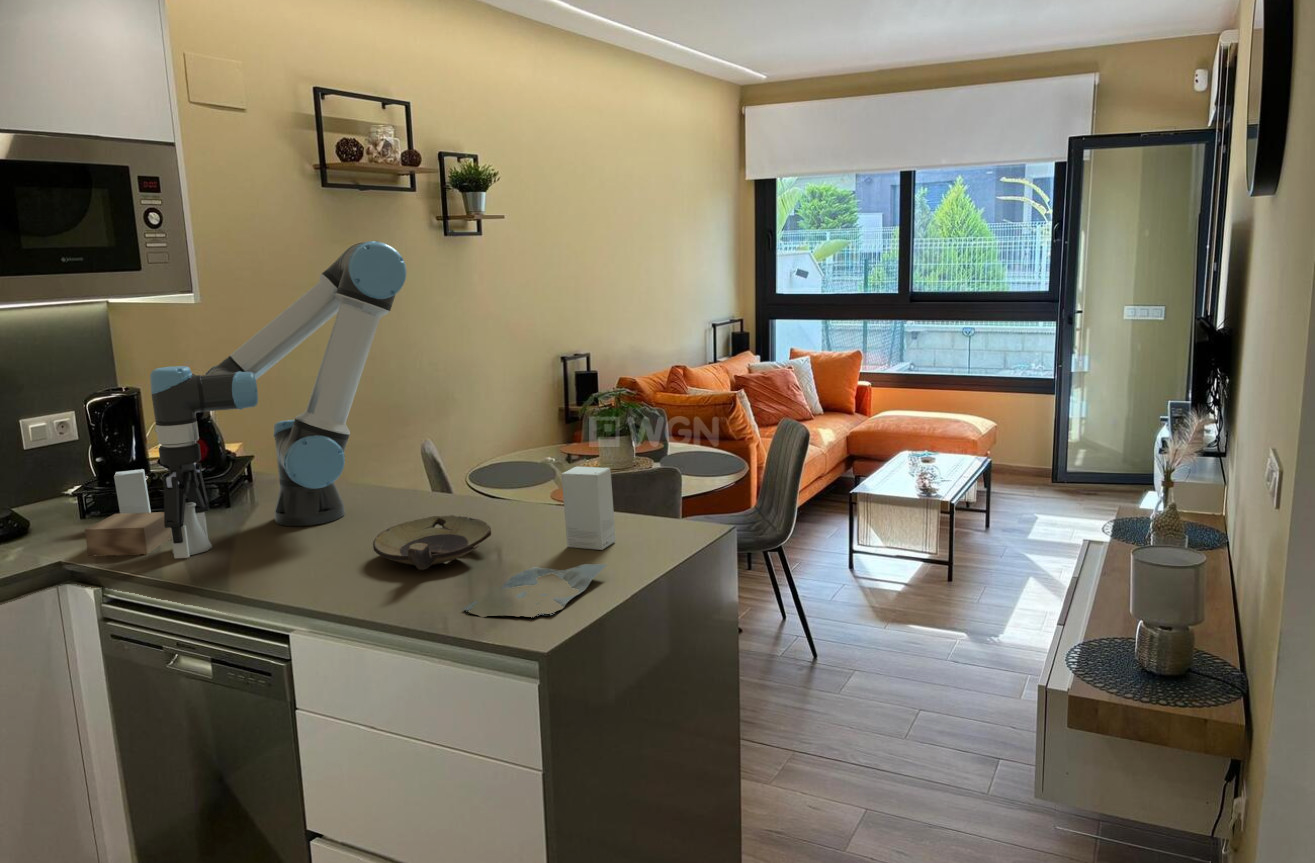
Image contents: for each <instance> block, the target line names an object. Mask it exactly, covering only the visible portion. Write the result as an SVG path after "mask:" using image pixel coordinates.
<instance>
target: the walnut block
mask: <svg viewBox="0 0 1315 863" xmlns="http://www.w3.org/2000/svg"><path fill="white" fill-rule="evenodd" d="M84 535H85V542H86V548H87V557H95V556H94V555H97V556H96V557H107V555H116V556H136V555H138V556H140V554H144V555H149V554H150V553H152V552H153V551H155V550H156V549H155V548H157V547H158V546H160V545H161V546H163V545H164V544H166V543H167V541H168V540H169V541H171V540H172V535H171V528H165V525H164V511H158V512H156V511H155V512H152V511H151V513H121V514H120V513H114V514H112V515H110V516H108V517H106V518H104V519H102V520H101V521H98V522H96V523H94V524H93V525H91V526H88V527H87V528H85V529H84ZM170 539H171V540H170ZM169 541H168V542H169ZM165 542H166V543H165ZM163 543H164V544H163ZM162 544H163V545H162ZM161 546H160V547H161ZM158 548H159V547H158ZM158 548H157V549H158ZM154 549H155V550H154ZM152 550H153V551H152ZM151 551H152V552H151ZM148 553H149V554H148Z"/></svg>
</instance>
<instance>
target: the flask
mask: <svg viewBox="0 0 1315 863" xmlns="http://www.w3.org/2000/svg"><path fill="white" fill-rule="evenodd" d="M195 506H196V503H193V502H191V503H189V502H185V512H184V524H183V526H186V530H187V538H188V547H189V555H190V556H193V555H197V554H201V553H204V552H208V551H209V550H210V549H212V548H213V545H212V543H211V541H210V540H209V537H208V538H207V536H206V535H205V533H204V531H203V529H202V527H201V526H200V524H199V522H198V519H197V516H196V513H195ZM171 554H174V551H173V549H172V551H171Z"/></svg>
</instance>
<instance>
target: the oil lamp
mask: <svg viewBox="0 0 1315 863" xmlns="http://www.w3.org/2000/svg"><path fill="white" fill-rule="evenodd" d="M436 525H438V526H441V527H439V528H438V527H436ZM491 536H492V529H491V527H490V525H488V523H487V522H486V521H484V520H481V519H478V518H472V517H468V516H460V515H458V516H457V515H453V514H451V515H442V516H440V515H439V516H438V515H436V516H428V517H424V518H420V519H414V520H410V521H405V522H402V523H399V524H397V525H394V526H391V527H388V528H386V529H385V530H383V531H380V532H379V533H378V534H377V535H376V537H375V538H374V540H373V542H372V547H373V548H372V549H373V551H374V552H375V554H377V555H379V556H380V557H383V558H385V559H387V560H391V561H394V562H397V563H398V562H399V563H401V564H407V565H413V566H415V567H416V569H418V570H427V569H428V568H430V567H431V566H432V565H439V564H443V563H446V562H450V561H453V560H456V559H459V558H461V557H463V556H465V555H467V554H469V553H470V552H472V551H474V550H476V549H477V548H479V546H480V543H483V542H484V541H485V540H487V539H488V538H489V537H491Z"/></svg>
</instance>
